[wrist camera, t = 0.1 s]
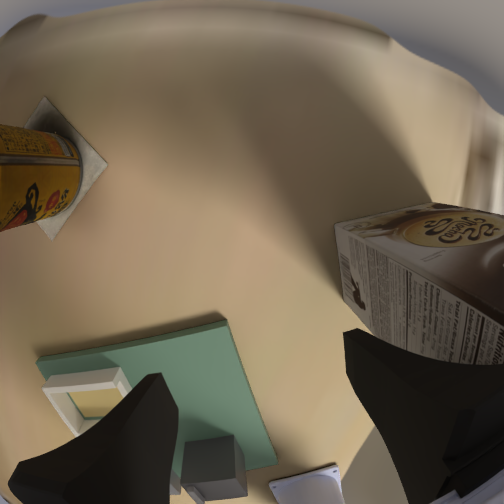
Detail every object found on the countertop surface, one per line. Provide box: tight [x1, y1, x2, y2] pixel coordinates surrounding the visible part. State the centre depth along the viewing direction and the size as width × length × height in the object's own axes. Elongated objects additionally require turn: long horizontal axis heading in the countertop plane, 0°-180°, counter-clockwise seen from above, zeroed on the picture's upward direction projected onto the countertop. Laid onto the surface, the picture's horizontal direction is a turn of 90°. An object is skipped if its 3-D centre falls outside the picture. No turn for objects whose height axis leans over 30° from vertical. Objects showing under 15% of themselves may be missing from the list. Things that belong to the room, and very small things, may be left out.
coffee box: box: [334, 202, 504, 365], centre depth 13 cm, size 9×6×16 cm
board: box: [35, 320, 278, 478], centre depth 22 cm, size 17×18×3 cm
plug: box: [180, 435, 248, 504], centre depth 20 cm, size 3×5×6 cm
